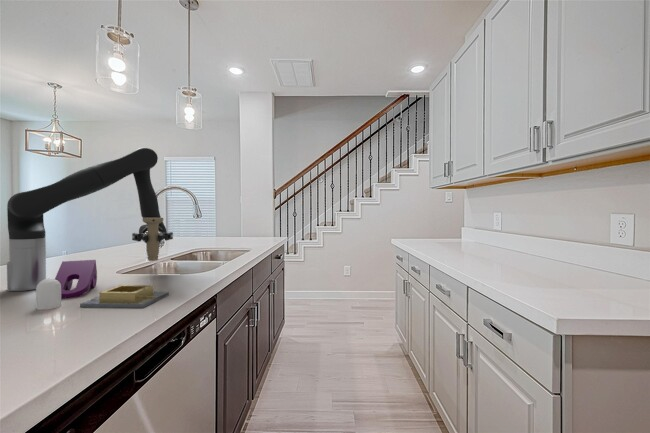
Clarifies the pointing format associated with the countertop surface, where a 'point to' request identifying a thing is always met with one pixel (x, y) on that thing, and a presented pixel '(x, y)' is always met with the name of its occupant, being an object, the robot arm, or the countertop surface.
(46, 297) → the capsule
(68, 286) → the mounting bracket
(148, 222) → the handle
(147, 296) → the plate
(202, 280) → the countertop surface
